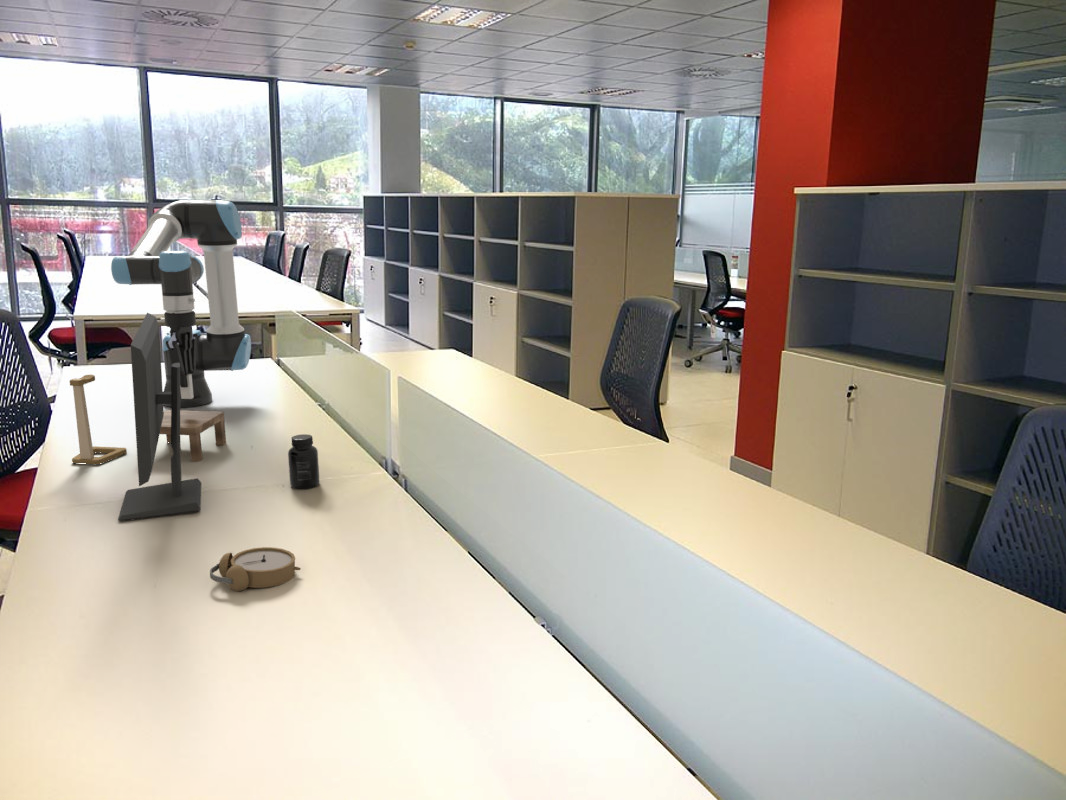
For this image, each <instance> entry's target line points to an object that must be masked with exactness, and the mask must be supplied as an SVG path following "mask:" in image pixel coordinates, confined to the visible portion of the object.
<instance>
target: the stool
mask: <svg viewBox="0 0 1066 800" xmlns="http://www.w3.org/2000/svg"><path fill="white" fill-rule="evenodd" d="M163 411H164V410H163ZM212 427H214V438H215V446H224V445H225V444H227V436H226V435H227V434H226V425H225V412H224V411H211V410H209V411H208V410H186V409H185V410H184V409H183V410H181V409H180V436H188V437H189V438H188V439H189V450H190V461H191V462H200V461H202V460H203V450H202V441H201V439H202V438H201V434H202V433H203V432H205V431H206V430H208V429H210V428H212ZM159 435H166V444H171V409H167V410H165V411H164V416H163V420H162V425H161V430H160V434H159ZM168 442H169V443H168Z"/></svg>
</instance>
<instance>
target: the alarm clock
mask: <svg viewBox="0 0 1066 800" xmlns="http://www.w3.org/2000/svg"><path fill="white" fill-rule="evenodd" d="M217 571H219V575H220V576H218V575H215V574H214V573H215V572H217ZM296 571H301V567H300V566H296V556H295V554H294V553H293V552H291V551H290V550H286V549H284V548H278V547H271V546H269V547H266V546H265V547H264V546H263V547H253V548H249V549H245V550H241V551H238V552H237V553H236V554H234V555H233V553H232V552H227V553H225V554H223V555H222V556H221V558H220V560H219V562H218V563H216V565H214V566H212V567H211V568H210V571H209V577H210V579H211V580H212V581H214V582H217V583H222V584H227V585H228V587H229V588H230V589H231V590H232V591H235V592H242V591H244V590H246V589H247V588H259V589H260V588H261V589H262V588H270V587H276V586H280V585H283V584H285V583H287V582H289V581H290V580H291V579H292V578H294V577H295V573H296Z"/></svg>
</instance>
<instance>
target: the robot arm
mask: <svg viewBox="0 0 1066 800" xmlns="http://www.w3.org/2000/svg"><path fill="white" fill-rule="evenodd" d="M242 229H243V227H242V222H241V217H240V213H239V211H238V209H237V206H236V205H235V204H234V202H232V201H229V200H219V199H216V200H215V199H212V200H210V199H209V200H208V199H207V200H206V199H201V200H200V199H199V200H188V199H184V200H183V199H180V200H177V201H173V202H171V203H168V204H165V205H164V206H162V207H161V208H159V209H158V210H156V211H155V212H154V213H153V214H152V215H151V216H150V218H149V219H148V221H147V229H146V230H145V232H144V233H143V234H142V236H140V239H139V240H138V241H137V243H136V244H135V246H133V248H132V250H131V251H130V253H128V255H119V256H118V255H117V256H114V257H113V258H112V261H111V265H110V266H111V267H110V268H111V269H110V270H111V276H112V279H113V280H114V281H115V283H117V284H118V285H128V286H132V285H133V286H134V285H160V286H161V292H162V293H161V294H162V305H163V306H162V307H163V310H164V313H163V314H164V316H163V317H164V325H165V326H166V327H167V328H170V334H167V335H165V336H164V337H163V339H162V353H163V362H164V363H163V364H164V372H165V383H164V389H163V392H171V367H172V364H173V363H180V408H192V407H199V406H203V405H206V404H209V403H212V401H213V395H212V391H211V389H210V386H209V384H208V382H207V380H206V378H205V372H206V371H207V372H208V371H209V372H211V371H213V372H214V371H215V372H216V371H231V372H233V371H241V370H243V371H244V370H245V369H246V368H247V367H248V365H249V361H250V358H251V353H252V352H251V350H252V339H251V338H252V337H251V335H249V334H247V333H245V332H246V331H245V327H243V326H242V325H241V324H240V322H239V309H238V299H237V287H236V286H237V285H236V275H235V274H236V273H235V262H234V251H233V249H235V247H236V246H237V245H238V240H239V239H241V238H242V237H243V236H242V235H243V232H242ZM180 239H193V240H194V239H195V240H197V246H198V247H199V248H201V249H202V250H203V258H204V265H203V262H202V261H201V260H200V259H199V258H198V257H197V256H194V255H191V254H190V253H189V252H187V251H185V250H169V248H170V247H171V246H172V244H173V243H175V242H178V241H179V240H180ZM204 271H205V278H206V289H207V299H208V300H207V301H208V309H209V320H210V326H209V327H207V329H206V334H202V332H201V330H200V329H193V328H192V327H193V326H196V324H197V321H196V312H195V311H194V309H195V302H196V300H195V298H194V288H193V284H194V283H198V281H199V280H200V279H202V277H203V274H204ZM164 405H165V406H164ZM163 406H164V407H168V408H171V404H163Z"/></svg>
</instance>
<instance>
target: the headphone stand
mask: <svg viewBox="0 0 1066 800" xmlns="http://www.w3.org/2000/svg"><path fill="white" fill-rule="evenodd" d="M95 381H96V376H95V375H94V374H85V375H83V376H82V377H79V378H77V377H76V378H71V379H70V380H69V387H70V386H71V387H72V390H73V398H74V399H73V400H74V410H75V419H76V428H77V436H78V437H77V438H78V445H79V446H78V447H79V454H76V455H75V456H74V457H72V458H71V463H72V462H73V463H86V464H100V463H103V462H105V463H107V462H109V461H108V460H110V461H112V460H115V459H117V458H120V457H121V455H122V456H124V455H123V454H125V455H126V454H127V453H128V451H127V450H128V449H127V448H126V447H114V446H112V447H111V446H93V442H92V435H91V434H92V433H91V428H90V422H89V420H90V419H89V414H88V407H87V401H86V393H85V388H84V387H85V386H84V385H86V384H90V383H92V382H95ZM95 452H101V453H100V454H104V453H108V454H104V455H100V456H95V455H94V453H95ZM95 454H96V453H95ZM119 456H120V457H119ZM116 457H117V458H116ZM114 458H115V459H114ZM111 459H112V460H111ZM106 461H107V462H106ZM73 463H72V464H73ZM103 464H104V463H103ZM100 465H101V464H100Z"/></svg>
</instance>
